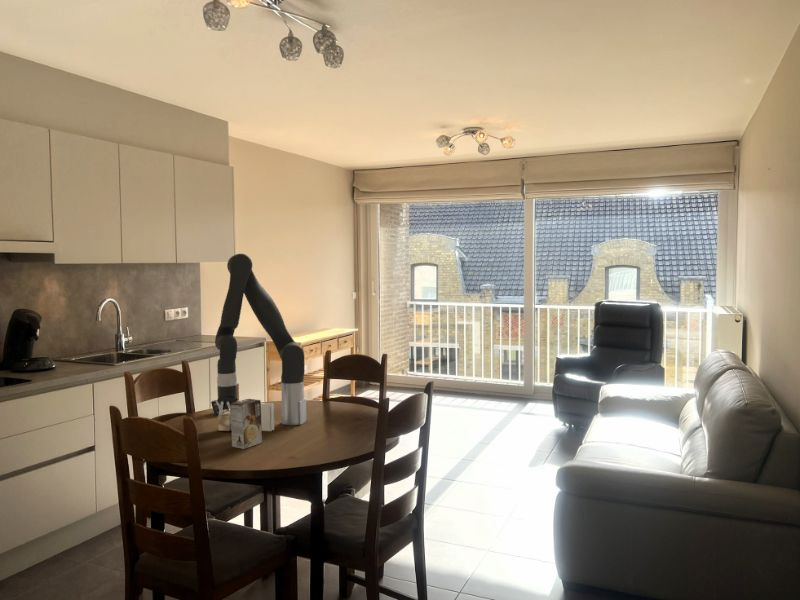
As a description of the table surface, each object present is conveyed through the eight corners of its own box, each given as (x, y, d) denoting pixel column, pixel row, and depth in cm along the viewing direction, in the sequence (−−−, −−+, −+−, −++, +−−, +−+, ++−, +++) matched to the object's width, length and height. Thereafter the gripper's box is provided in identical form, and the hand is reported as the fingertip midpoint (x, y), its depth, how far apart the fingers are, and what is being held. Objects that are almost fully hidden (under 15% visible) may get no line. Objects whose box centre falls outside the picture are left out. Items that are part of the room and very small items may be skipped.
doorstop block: (237, 426, 249) (237, 411, 249) (228, 431, 242) (228, 415, 242) (227, 426, 250) (227, 411, 250) (218, 430, 243) (218, 415, 243)
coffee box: (250, 440, 230) (248, 398, 229) (262, 443, 226) (261, 399, 226) (231, 446, 222) (230, 402, 221) (244, 449, 218) (242, 404, 218)
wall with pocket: (274, 429, 246) (273, 403, 245) (271, 431, 243) (270, 404, 243) (253, 428, 248) (253, 402, 248) (250, 430, 245) (249, 403, 245)
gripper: (247, 382, 247) (249, 424, 248) (216, 381, 251) (217, 423, 252) (238, 386, 240) (239, 429, 241) (205, 385, 244) (207, 427, 244)
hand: (228, 426), depth 246 cm, fingers closed on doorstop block, 4 cm apart
